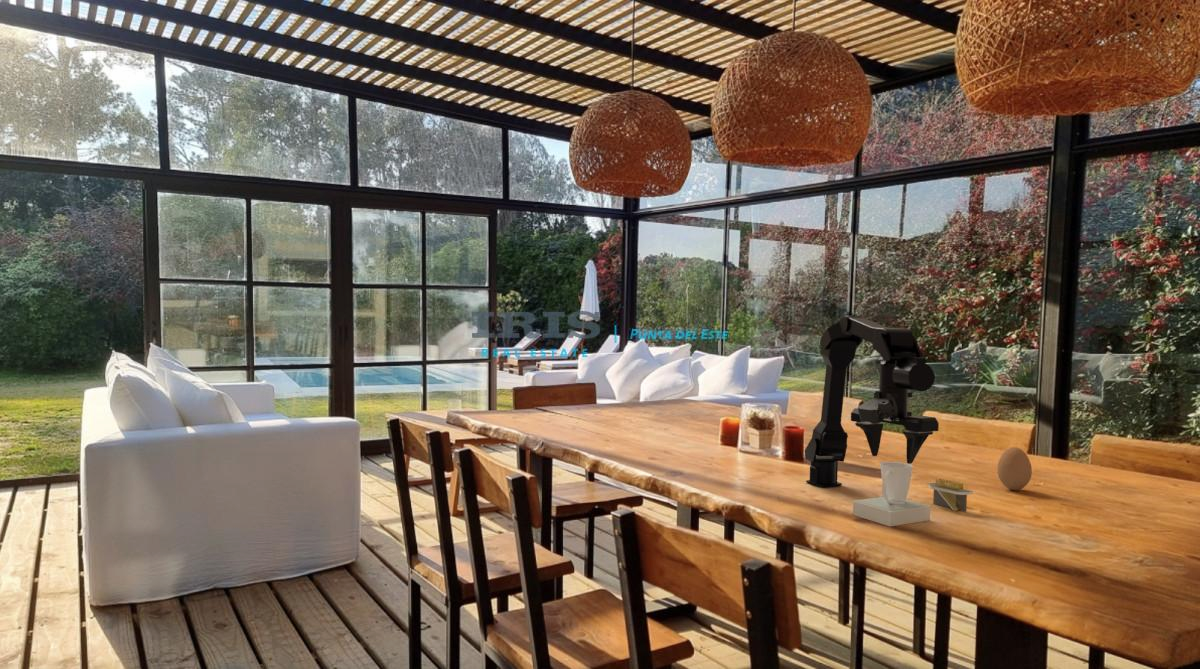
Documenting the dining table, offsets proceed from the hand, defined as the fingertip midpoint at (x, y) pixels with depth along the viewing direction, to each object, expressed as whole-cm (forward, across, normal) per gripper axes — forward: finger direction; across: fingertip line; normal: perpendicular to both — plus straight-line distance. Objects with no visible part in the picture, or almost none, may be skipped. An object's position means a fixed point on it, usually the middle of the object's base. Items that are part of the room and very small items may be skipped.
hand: (891, 459), depth 158 cm
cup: (+10, 0, 0) cm, 10 cm away
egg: (+12, -6, +51) cm, 53 cm away
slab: (+12, 0, 0) cm, 12 cm away
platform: (+13, 0, +19) cm, 23 cm away
